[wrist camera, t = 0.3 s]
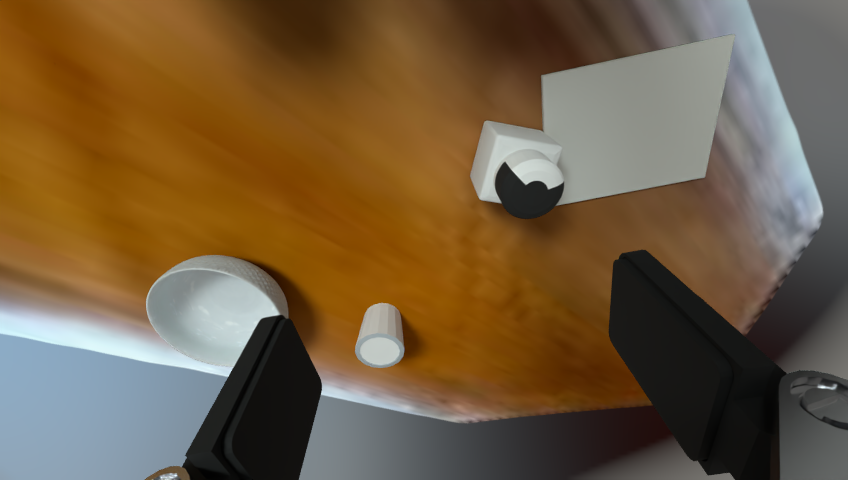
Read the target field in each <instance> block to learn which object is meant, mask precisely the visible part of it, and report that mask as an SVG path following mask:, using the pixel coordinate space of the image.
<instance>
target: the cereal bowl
mask: <svg viewBox="0 0 848 480" xmlns="http://www.w3.org/2000/svg"><path fill="white" fill-rule="evenodd" d="M146 309H147V314H148V317H149V320H150V322H151V324H152V326H153V327H154V329H155V331H156V332H157V333H158V334H159V336H160V337H161V338H162V339H163V340H164V341H165V342H167V343H168V344H169V345H170V346H172V347H173V348H174V349H176V350H177V351H179V352H181V353H182V354H184V355H186V356H188V357H190V358H193V359H195V360H198V361H201V362H204V363H208V364H212V365H217V366H228V367H234V366H235V364H236V362H237V360H238V358H239V357H240V355H241V353H242V351H243V349H244V348H245V346H246V344H247V342H248V340H249V338H250V337H251V335H252V333H253V331H254V329H255V328H256V326H257V324H258V322H259V321H260V319H262V318H265V317H271V316H276V315H283V316H284V317H285V318H286V319H287V318H288V314H289V313H288V305H287V301H286V298H285V295H284V293H283V292H282V289H281V288H280V287H279V285H278V284H277V283H276V281H275V280H274V279H273V278H272V277H271V276H270V275H269V274H268V273H266V272H265V271H264V270H262V269H260V268H259V267H257V266H256V265H254V264H252V263H250V262H247V261H245V260H242V259H238V258H234V257H229V256H222V255H207V256H201V257H195V258H192V259H189V260H187V261H184V262H182V263H180V264H178V265H176V266H174V267H173V268H171V269H170V270H168V271H167V272H166V273H165V274H163V275H162V276H161V277H160V278H159V279H158V280H157V281H156V282H155V283H154V284H153V286H152V287H151V289H150V291H149V293H148V296H147V300H146ZM288 319H289V318H288Z"/></svg>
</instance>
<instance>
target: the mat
mask: <svg viewBox="0 0 848 480" xmlns="http://www.w3.org/2000/svg"><path fill="white" fill-rule="evenodd" d="M734 39H735V34H731V35H726V36H721V37H717V38H712V39H707V40H703V41H698V42H693V43H689V44H684V45H680V46H675V47H670V48H666V49H661V50H656V51H652V52H647V53H642V54H638V55H633V56H629V57H624V58H619V59H615V60H610V61H605V62H601V63H596V64H591V65H587V66H582V67H578V68H573V69H568V70H564V71H559V72H554V73H550V74H545V75H541V87H542V123H543V132H544V133H545V134H546V135H548V136H549V137H550V138H552V139H553V140H554V141H556V142H557V143H558V144H559V145H561V146H562V147H563V151H562V154H561V156H560V159H559V162H558V164H557V167H558V168H559V169H560V171H561V172H562V175H563V177H564V191H563V194H562V197H561V199H560V200H559V202H558V203H557V205H562V204H568V203H573V202H578V201H583V200H589V199H594V198H599V197H604V196H610V195H615V194H620V193H625V192H631V191H636V190H641V189H646V188H651V187H657V186H662V185H667V184H672V183H678V182H683V181H688V180H693V179H699V178H704V177H705V174H706V169H707V164H708V160H709V155H710V151H711V146H712V141H713V137H714V132H715V127H716V123H717V118H718V113H719V109H720V104H721V99H722V95H723V90H724V85H725V81H726V76H727V71H728V67H729V62H730V57H731V53H732V48H733V43H734ZM557 205H556V206H557Z"/></svg>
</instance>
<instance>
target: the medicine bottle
mask: <svg viewBox="0 0 848 480" xmlns="http://www.w3.org/2000/svg"><path fill="white" fill-rule="evenodd" d="M562 151H563V147H562V146H561V145H559V144H558V143H557V142H556V141H554V140H553V139H552V138H550V137H549V136H548V135H546V134H545V133H544V132H542V131H541V130H536V129H531V128H525V127H520V126H514V125H509V124H504V123H498V122H493V121H485V122H484V125H483V128H482V132H481V136H480V140H479V144H478V148H477V151H476V155H475V159H474V163H473V167H472V171H471V175H470V178H471V180H472V183H473V185H474V187H475V190H476V192H477V195H478V197H479V199H480V200H483V201H489V202H496V203H502V205H503V206H504V208H505V209H506V210H507V212H509V213H510V214H511V215H513V216H515V217H518V218H522V219H532V218H537V217H540V216H542V215H544V214H546V213H548V212H549V211H550V210H552V209H553V208H554V207H555V206H556V205H557V203H558V202H559V200H560V199H561V197H562V194H563V191H564V177H563V175H562V172H561V171H560V169H559V168H558V167H557V164H558V162H559V159H560V156H561V154H562Z"/></svg>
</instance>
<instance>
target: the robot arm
mask: <svg viewBox="0 0 848 480" xmlns="http://www.w3.org/2000/svg"><path fill="white" fill-rule="evenodd" d="M609 337H610V340H611V342H612V344H613V346H614V347H615V349H616V350H617V352H618V353H619V355H620V356H621V358H622V359H623V361H624V362H625V364H626V365H627V367H628V368H629V370H630V371H631V373H632V374H633V376H634V377H635V379H636V380H637V382H638V383H639V385H640V386H641V388H642V389H643V391H644V392H645V394H646V395H647V397H648V398H649V400H650V401H651V403H652V404H653V406H654V407H655V408H656V410H657V411H658V413H659V414H660V416H661V417H662V419H663V420H664V422H665V423H666V425H667V426H668V428H669V429H670V431H671V432H672V434H673V435H674V437H675V438H676V440H677V441H678V443H679V444H680V446H681V447H682V449H683V450H684V452H685V453H686V454H687V456H688V457H689V458H690V459H691V460H693V461H698V462H699V463H700V465H701V466H702V468H703V469H704V470H705V472H706V473H707V475H714V474H722V473H730V474H731V475H732V476H733V478H734V479H735V480H848V380H846V379H843V378H840V377H837V376H834V375H832V374H828V373H822V372H818V371H808V370H806V371H805V370H799V371H795V372H791V373H786V372H784V371H783V370H782V369H781V368H780V367H779V366H778V365H776V364H775V363H774V362H773V361H772V360H771V359H770V358H768V357H767V356H766V355H765V354H764V353H763V352H762V351H760V350H759V349H758V348H757V347H756V346H755V345H754V344H753V343H751V342H750V341H749V340H748V339H747V338H746V337H745V336H743V335H742V334H741V333H740V332H739V331H738V330H737V329H735V328H734V327H733V326H732V325H731V324H730V323H729V322H728V321H726V320H725V319H724V318H723V317H722V316H721V315H720V314H718V313H717V312H716V311H715V310H714V309H713V308H712V307H710V306H709V305H708V304H707V303H706V302H705V301H704V300H703V299H701V298H700V297H699V296H698V295H696V294H695V293H694V292H693V291H692V290H690V289H689V288H688V287H687V286H686V285H685V284H684V283H683V282H681V281H680V280H679V279H678V278H677V277H676V276H675V275H673V274H672V273H671V272H670V271H669V270H668V269H667V268H666V267H664V266H663V265H662V264H661V263H660V262H659V261H658V260H656V259H655V258H654V257H653V256H652V255H651V254H650V253H649V252H647V251H646V250H638V251H633V252H627V253H622V254H621V255H620V256H619V259H618V260H615V261H614V263H613V275H612V290H611V305H610V320H609ZM321 391H322V383H321V379H320V377H319V375H318V373H317V371H316V369H315V367H314V365H313V363H312V361H311V359H310V357H309V355H308V353H307V351H306V349H305V347H304V345H303V343H302V341H301V339H300V337H299V334H298V332H297V330H296V328H295V326H294V324H293V322H292V321H291V319H288V318H287V319H286V318H285V317H284V316H283V315H276V316H271V317H265V318H262V319H260V321H259V322H258V324H257V326H256V328H255V329H254V331H253V333H252V335H251V337H250V338H249V340H248V342H247V344H246V346H245V348H244V349H243V351H242V353H241V355H240V357H239V358H238V360H237V362H236V364H235V366H234V368H233V369H232V371H231V373H230V375H229V377H228V379H227V381H226V382H225V384H224V386H223V388H222V389H221V391H220V393H219V395H218V397H217V399H216V400H215V402H214V404H213V406H212V408H211V409H210V411H209V413H208V415H207V417H206V418H205V420H204V422H203V424H202V426H201V428H200V429H199V432H198V433H197V435H196V437H195V439H194V440H193V442H192V444H191V446H190V448H189V449H188V451H187V453H186V455H185V456H186V457H187V459H186V460H185V463H184V464H183V466H182V467H180V466H170V467H167V468H164V469H161V470H159V471H157V472H156V473H154V474H152V475H151V476H149V477H147V478H146V479H145V480H299V476H300V472H301V468H302V465H303V461H304V457H305V453H306V449H307V445H308V441H309V438H310V434H311V430H312V426H313V422H314V418H315V414H316V411H317V407H318V403H319V399H320V395H321Z"/></svg>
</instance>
